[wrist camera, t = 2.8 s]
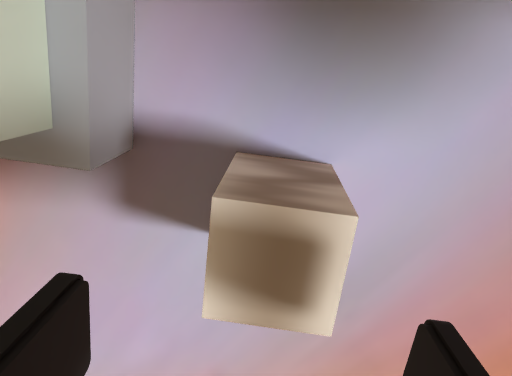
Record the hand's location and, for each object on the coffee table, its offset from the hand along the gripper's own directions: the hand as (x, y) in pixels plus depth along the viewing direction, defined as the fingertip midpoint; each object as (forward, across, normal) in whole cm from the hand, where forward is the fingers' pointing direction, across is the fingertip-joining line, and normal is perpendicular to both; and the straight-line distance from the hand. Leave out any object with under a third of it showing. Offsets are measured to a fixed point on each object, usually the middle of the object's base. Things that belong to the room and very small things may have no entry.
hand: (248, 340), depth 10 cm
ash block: (+10, -1, -1) cm, 10 cm away
